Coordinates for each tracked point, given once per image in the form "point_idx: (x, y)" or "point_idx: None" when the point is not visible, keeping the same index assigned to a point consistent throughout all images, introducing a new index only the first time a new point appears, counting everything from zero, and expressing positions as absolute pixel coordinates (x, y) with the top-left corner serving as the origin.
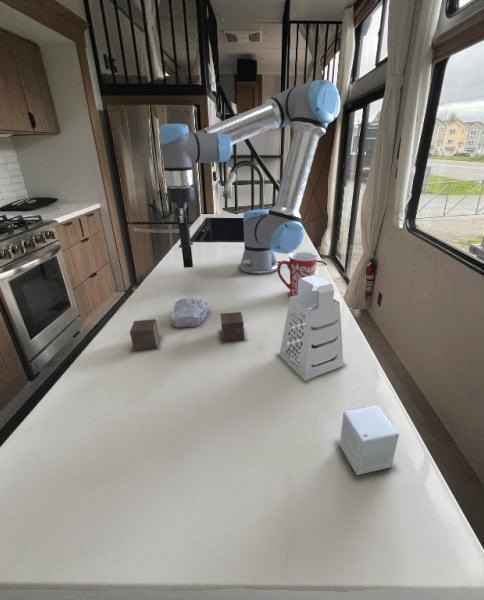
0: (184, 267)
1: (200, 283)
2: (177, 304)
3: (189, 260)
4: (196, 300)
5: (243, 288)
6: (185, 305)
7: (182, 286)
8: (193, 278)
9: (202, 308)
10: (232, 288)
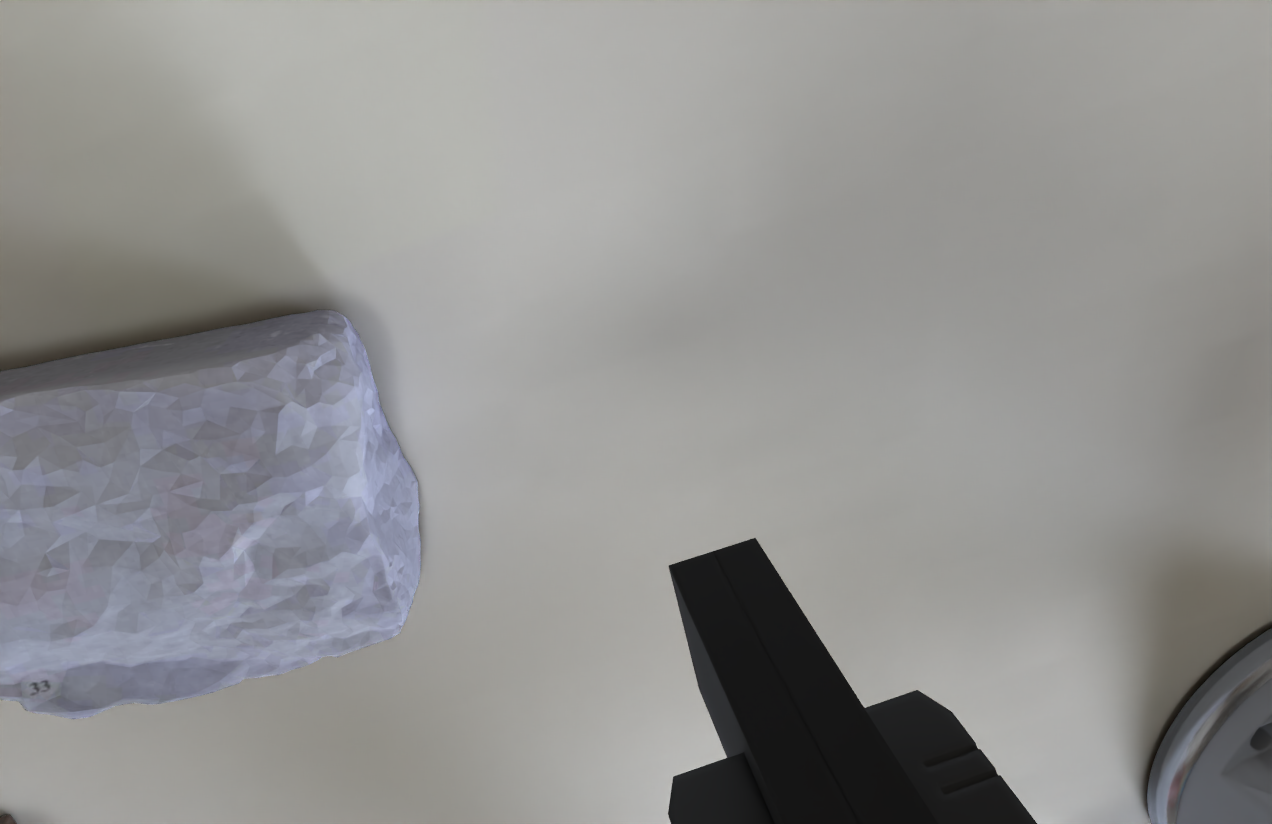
0: (673, 576)
1: (1046, 318)
2: (162, 412)
3: (733, 751)
4: (338, 579)
5: None
6: (164, 512)
7: (994, 126)
8: (1206, 190)
9: (237, 645)
10: (880, 651)
